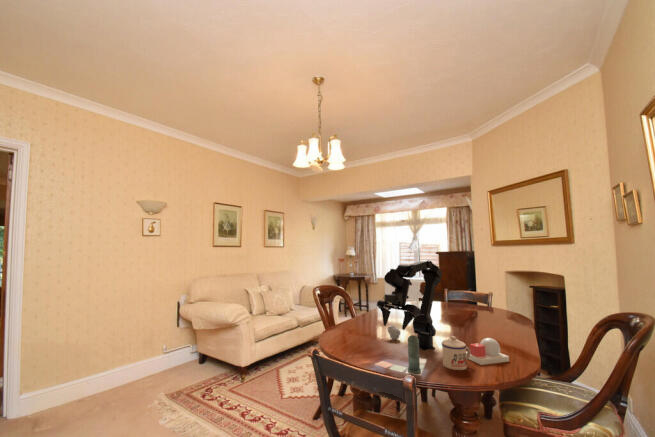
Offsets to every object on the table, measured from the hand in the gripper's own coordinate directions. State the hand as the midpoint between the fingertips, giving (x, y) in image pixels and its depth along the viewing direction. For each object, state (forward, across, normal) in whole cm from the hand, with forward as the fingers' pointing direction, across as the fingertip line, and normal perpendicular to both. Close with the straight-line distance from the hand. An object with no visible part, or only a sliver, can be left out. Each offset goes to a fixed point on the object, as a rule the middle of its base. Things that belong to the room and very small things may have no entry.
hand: (393, 327), depth 126 cm
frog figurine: (+2, -18, +30) cm, 35 cm away
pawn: (+14, +12, +1) cm, 18 cm away
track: (+13, +8, +4) cm, 16 cm away
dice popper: (0, +25, +33) cm, 42 cm away
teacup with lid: (+7, +21, +18) cm, 28 cm away
